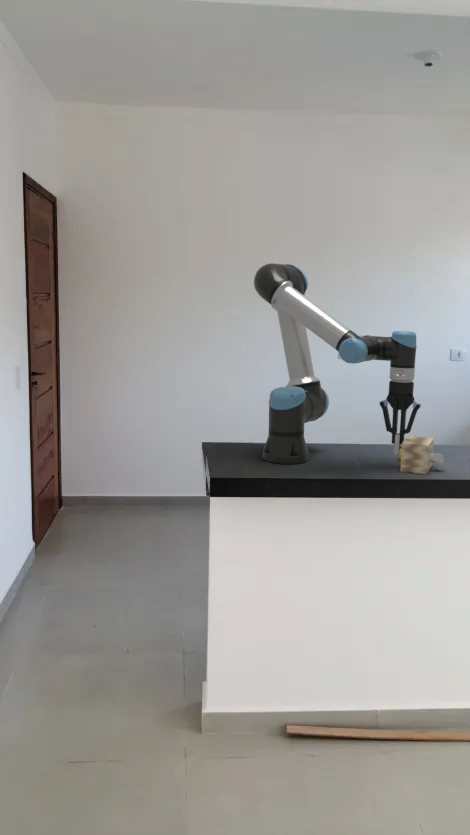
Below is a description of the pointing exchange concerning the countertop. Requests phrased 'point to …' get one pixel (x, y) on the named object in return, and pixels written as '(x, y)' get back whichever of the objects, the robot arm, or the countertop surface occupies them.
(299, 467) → the countertop surface
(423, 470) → the bore block
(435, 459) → the pin
